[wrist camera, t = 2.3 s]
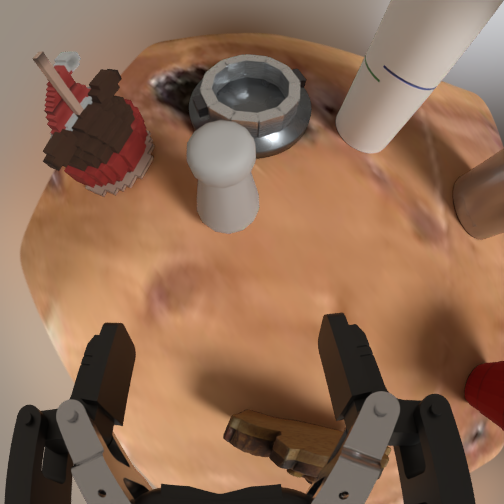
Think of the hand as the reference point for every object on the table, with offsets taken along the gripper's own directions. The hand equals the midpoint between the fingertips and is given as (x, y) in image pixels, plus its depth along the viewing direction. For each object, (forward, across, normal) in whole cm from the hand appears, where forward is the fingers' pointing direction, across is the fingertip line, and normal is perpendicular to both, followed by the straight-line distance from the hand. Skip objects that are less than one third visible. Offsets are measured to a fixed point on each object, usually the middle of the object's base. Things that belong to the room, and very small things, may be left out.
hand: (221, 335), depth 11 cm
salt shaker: (+19, 0, +4) cm, 19 cm away
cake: (+24, +13, -1) cm, 27 cm away
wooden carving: (+2, -6, +21) cm, 22 cm away
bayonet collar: (+28, -3, -5) cm, 28 cm away
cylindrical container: (+26, -16, -3) cm, 31 cm away
